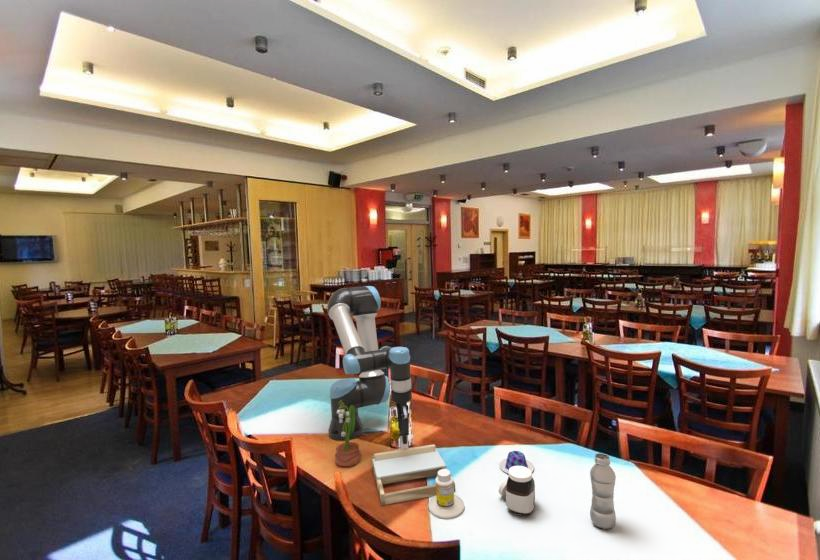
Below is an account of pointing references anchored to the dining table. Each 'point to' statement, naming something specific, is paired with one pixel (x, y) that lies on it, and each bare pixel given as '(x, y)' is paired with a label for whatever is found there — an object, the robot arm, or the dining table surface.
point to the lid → (407, 461)
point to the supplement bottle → (444, 489)
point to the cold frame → (409, 493)
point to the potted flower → (347, 439)
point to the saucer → (446, 513)
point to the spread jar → (519, 490)
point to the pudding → (515, 461)
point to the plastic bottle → (602, 492)
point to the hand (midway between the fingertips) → (404, 450)
